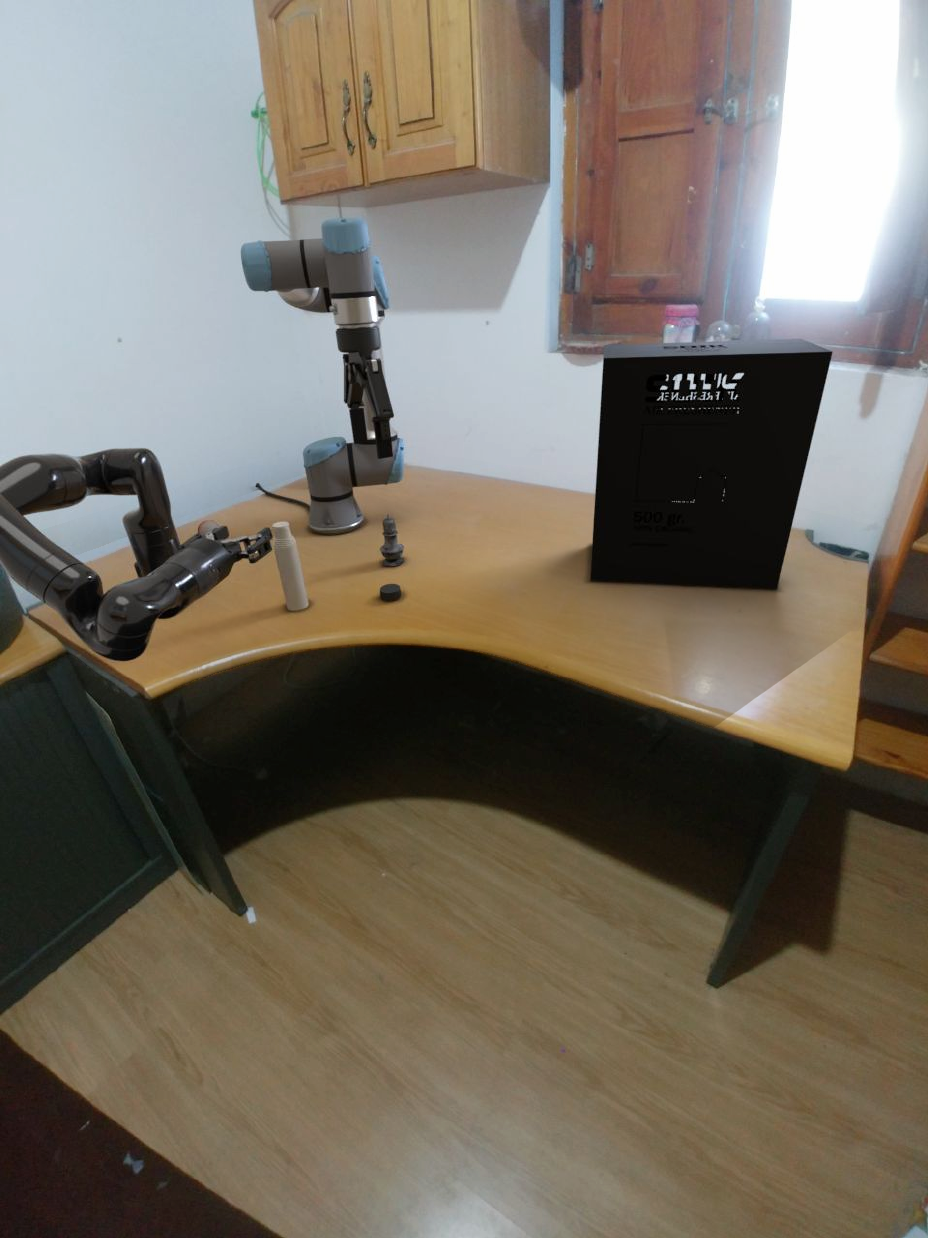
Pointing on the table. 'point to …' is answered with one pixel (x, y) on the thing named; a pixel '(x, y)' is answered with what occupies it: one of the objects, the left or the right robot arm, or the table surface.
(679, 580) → the cardboard box
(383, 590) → the cap
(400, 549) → the grey tall tiered piece
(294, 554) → the bottle
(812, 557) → the table surface
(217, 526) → the eyeball
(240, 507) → the table surface
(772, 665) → the table surface
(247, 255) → the right robot arm
